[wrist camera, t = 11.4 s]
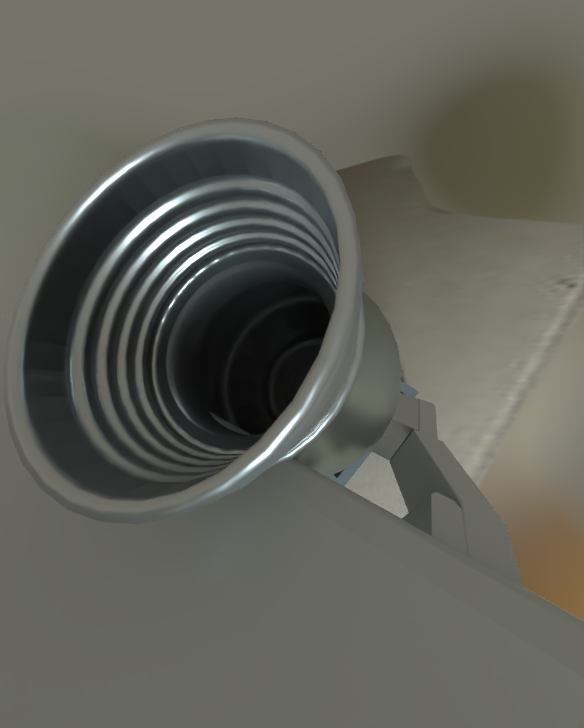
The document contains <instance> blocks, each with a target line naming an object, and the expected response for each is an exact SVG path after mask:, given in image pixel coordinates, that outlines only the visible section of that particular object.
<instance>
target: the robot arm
mask: <svg viewBox="0 0 584 728" xmlns="http://www.w3.org/2000/svg"><path fill="white" fill-rule="evenodd" d="M13 315H14V314H13ZM13 315H0V728H584V621H583V620H581V619H580V618H578V617H576V616H574V615H572V614H571V613H569V612H567V611H565V610H564V609H562V608H560V607H558V606H556V605H555V604H553V603H551V602H549V601H547V600H546V599H544V598H542V597H540V596H539V595H537V594H535V593H533V592H531V591H529V590H528V589H526V588H524V587H523V584H522V580H521V576H520V573H519V569H518V565H517V561H516V558H515V554H514V551H513V547H512V543H511V540H510V536H509V532H508V528H507V525H506V524H505V523H504V522H503V520H502V519H501V518H500V516H499V515H498V514H497V513H496V511H495V510H494V508H493V507H492V506H491V504H490V503H489V502H488V501H487V499H486V498H485V497H484V495H483V494H482V493H481V491H480V490H479V489H478V487H477V486H476V485H475V483H474V482H473V481H472V479H471V478H470V477H469V476H468V474H467V473H466V472H465V470H464V469H463V468H462V466H461V465H460V464H459V462H458V461H457V460H456V458H455V457H454V456H453V455H452V453H451V452H450V451H449V449H448V448H447V447H446V445H445V444H444V443H443V441H440V440H438V438H437V424H436V411H435V405H434V404H432V403H429V402H426V401H423V400H420V399H416V398H414V397H411V396H408V395H405V394H403V393H400V396H399V399H398V403H397V406H396V410H395V413H394V416H393V418H392V420H391V422H390V423H389V425H388V427H387V429H386V431H385V433H384V434H383V436H382V437H381V438H380V440H379V441H378V442H377V443H376V444H375V445H374V447H373V448H372V449H371V450H370V451H372V452H374V453H376V454H378V455H380V456H382V457H384V458H386V459H388V460H390V464H391V467H392V469H393V472H394V475H395V477H396V480H397V483H398V485H399V488H400V490H401V493H402V496H403V498H404V501H405V504H406V506H407V509H408V512H409V513H408V514H407V515H406V516H405V517H403V518H402V519H401V518H399V517H397V516H396V515H394V514H392V513H390V512H388V511H387V510H385V509H383V508H381V507H379V506H378V505H376V504H374V503H372V502H371V501H369V500H367V499H365V498H363V497H362V496H360V495H358V494H356V493H354V492H353V491H351V490H349V489H347V488H346V487H344V486H342V485H340V484H338V483H337V482H335V481H333V480H331V479H329V478H328V477H326V476H324V475H322V474H321V473H319V472H317V471H315V470H313V469H312V468H310V467H308V466H306V465H304V464H303V463H301V462H299V461H297V460H296V459H294V458H292V459H290V460H288V461H286V462H284V463H282V464H280V465H278V466H276V467H274V468H272V469H270V470H268V471H265V472H263V473H262V474H260V475H259V476H258V477H257V478H255V479H254V480H253V481H251V482H250V483H249V484H248V485H246V486H245V487H243V488H241V489H239V490H237V491H235V492H233V493H231V494H228V495H226V496H224V497H222V498H220V499H218V500H216V501H214V502H212V503H210V504H208V505H206V506H203V507H199V508H196V509H194V510H192V511H190V512H187V513H185V514H183V515H180V516H175V517H171V518H166V519H161V520H157V521H152V522H147V523H143V524H126V523H110V522H99V521H96V520H93V519H91V518H88V517H86V516H83V515H80V514H78V513H75V512H72V511H70V510H67V509H66V508H64V507H63V506H62V505H61V504H59V503H58V502H57V501H55V500H54V499H53V498H52V497H50V496H49V495H48V494H46V493H45V492H44V491H43V490H41V489H40V487H39V486H38V485H37V483H36V482H35V480H34V479H33V478H32V476H31V475H30V474H29V472H28V471H27V469H26V468H25V467H24V465H23V464H22V462H21V459H20V457H19V455H18V452H17V450H16V447H15V445H14V443H13V440H12V438H11V435H10V431H9V426H8V421H7V416H6V411H5V406H4V379H3V370H4V362H5V354H6V345H7V338H8V335H9V331H10V327H11V323H12V319H13ZM207 411H208V410H207ZM208 412H209V413H210V414H211V415H212V416H213V418H214V419H215V420H217V421H218V422H219V423H221V424H222V425H223V426H225V427H226V428H228V429H230V430H233V431H235V432H237V433H240V434H246V435H251V434H249V433H247V432H245V431H244V430H242V429H240V428H238V427H236V426H235V425H233V424H231V423H229V422H227V421H226V420H224V419H222V418H220V417H219V416H217V415H215V414H213V413H211V412H210V411H208Z"/></svg>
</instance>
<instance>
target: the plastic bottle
mask: <svg viewBox="0 0 584 728" xmlns="http://www.w3.org/2000/svg"><path fill="white" fill-rule="evenodd" d="M363 282H364V272H363V263H362V255H361V246H360V238H359V234H358V231H357V226H356V217H355V213H354V211H353V208H352V205H351V203H350V200H349V198H348V195H347V192H346V190H345V187H344V185H343V182H342V179H341V178H340V176H339V175H338V174H337V172H336V171H335V170H334V168H333V167H332V166H331V164H330V163H329V162H328V161H327V159H326V158H325V157H324V155H323V154H322V152H321V151H320V150H318V149H317V148H316V147H314V146H313V145H312V144H310V143H309V142H308V141H306V140H305V139H304V138H302V137H301V136H300V135H298V134H297V133H296V132H293V131H291V130H288V129H286V128H283V127H280V126H278V125H275V124H273V123H270V122H267V121H261V120H252V119H245V118H227V119H216V120H207V121H203V122H200V123H196V124H192V125H189V126H185V127H181V128H178V129H176V130H174V131H171V132H169V133H167V134H165V135H162V136H160V137H158V138H156V139H153V140H151V141H150V142H148V143H146V144H145V145H143V146H142V147H140V148H138V149H137V150H135V151H133V152H132V153H130V154H129V155H127V156H125V157H124V158H123V159H122V160H120V161H119V162H118V163H117V164H115V165H114V166H113V167H112V168H110V169H109V170H108V171H107V172H105V173H104V174H103V175H102V176H100V177H99V178H98V179H97V180H96V181H95V182H94V183H93V184H92V185H91V186H90V187H89V188H88V189H87V190H86V192H84V193H83V194H82V195H81V196H80V197H79V198H78V200H77V201H76V202H75V203H74V205H73V206H72V207H71V208H70V209H69V211H68V212H67V213H66V214H65V216H64V217H63V218H62V219H61V221H60V222H59V223H58V225H57V226H56V228H55V229H54V231H53V232H52V234H51V236H50V237H49V239H48V240H47V242H46V243H45V245H44V246H43V248H42V249H41V251H40V253H39V255H38V257H37V259H36V261H35V263H34V265H33V267H32V269H31V271H30V273H29V275H28V277H27V279H26V281H25V284H24V287H23V289H22V292H21V294H20V297H19V300H18V302H17V305H16V308H15V311H14V315H13V319H12V323H11V327H10V331H9V335H8V338H7V345H6V354H5V362H4V370H3V379H4V406H5V411H6V416H7V421H8V426H9V431H10V435H11V438H12V440H13V443H14V445H15V447H16V450H17V452H18V455H19V457H20V459H21V462H22V464H23V465H24V467H25V468H26V469H27V471H28V472H29V474H30V475H31V476H32V478H33V479H34V480H35V482H36V483H37V485H38V486H39V487H40V489H41V490H43V491H44V492H45V493H46V494H48V495H49V496H50V497H52V498H53V499H54V500H55V501H57V502H58V503H59V504H61V505H62V506H63V507H64V508H66V509H67V510H70V511H72V512H75V513H78V514H80V515H83V516H86V517H88V518H91V519H93V520H96V521H99V522H110V523H126V524H143V523H147V522H152V521H157V520H161V519H166V518H171V517H175V516H180V515H183V514H185V513H187V512H190V511H192V510H194V509H196V508H199V507H203V506H206V505H208V504H210V503H212V502H214V501H216V500H218V499H220V498H222V497H224V496H226V495H228V494H231V493H233V492H235V491H237V490H239V489H241V488H243V487H245V486H246V485H248V484H249V483H250V482H251V481H253V480H254V479H255V478H257V477H258V476H259V475H260V474H262V473H263V472H265V471H268V470H270V469H272V468H274V467H276V466H278V465H280V464H282V463H284V462H286V461H288V460H290V459H292V458H294V459H296V460H297V461H299V462H301V463H303V464H304V465H306V466H308V467H310V468H312V469H313V470H315V471H317V472H319V473H321V474H322V475H324V476H326V477H328V476H331V475H333V474H335V473H338V472H340V471H342V470H344V469H346V468H348V467H350V466H352V465H353V464H354V463H356V462H357V461H358V460H359V459H361V458H362V457H363V456H365V455H366V454H367V453H368V452H369V451H370V450H371V449H372V448H373V447H374V445H375V444H376V443H377V442H378V441H379V440H380V438H381V437H382V436H383V434H384V433H385V431H386V429H387V427H388V425H389V423H390V422H391V420H392V418H393V416H394V413H395V410H396V406H397V403H398V399H399V396H400V390H401V376H402V369H401V362H400V355H399V349H398V346H397V343H396V340H395V337H394V335H393V332H392V329H391V327H390V324H389V322H388V321H387V319H386V318H385V316H384V315H383V313H382V312H381V310H380V309H379V307H378V306H377V305H376V304H375V303H374V302H373V301H372V300H371V299H370V298H369V297H368V296H367V295H366V294H365V293H364V292H363ZM207 410H208V411H210V412H211V413H213V414H215V415H217V416H219V417H220V418H222V419H224V420H226V421H227V422H229V423H231V424H233V425H235V426H236V427H238V428H240V429H242V430H244V431H245V432H247V433H249V434H251V435H246V434H240V433H237V432H235V431H233V430H230V429H228V428H226V427H225V426H223V425H222V424H221V423H219V422H218V421H217V420H215V419H214V418H213V416H212V415H211V414H210V413H209V412H208V411H207Z"/></svg>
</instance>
